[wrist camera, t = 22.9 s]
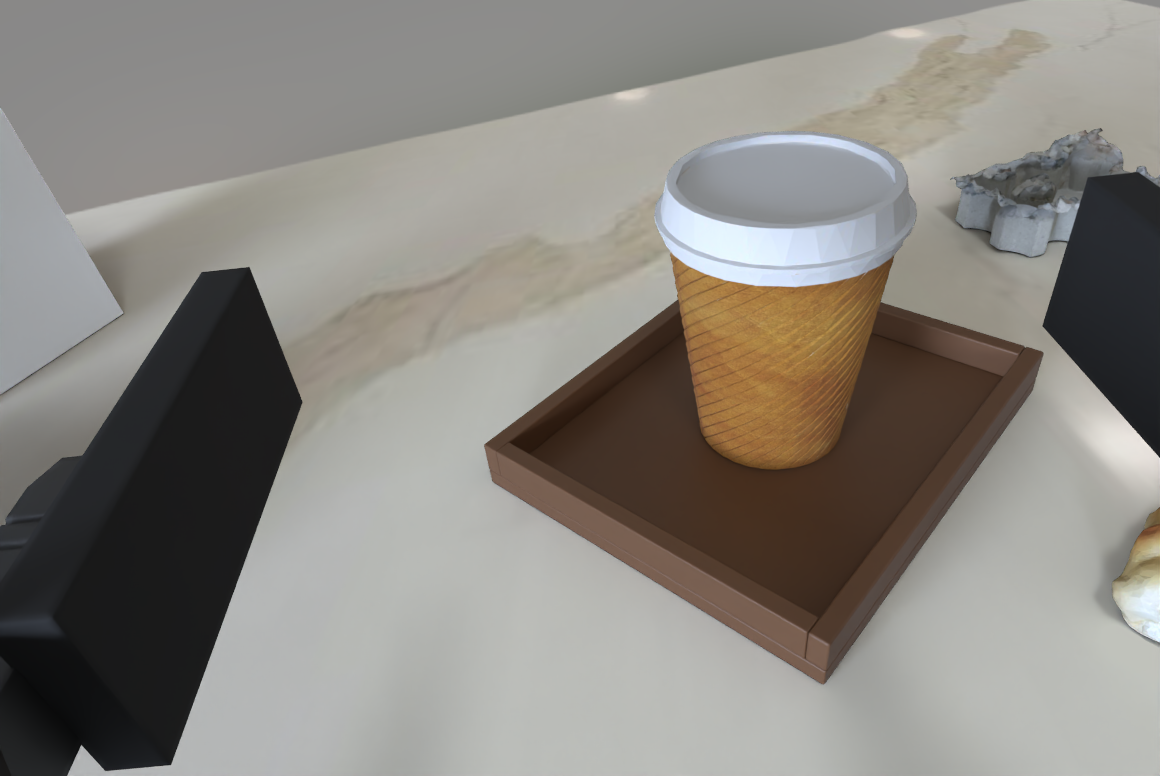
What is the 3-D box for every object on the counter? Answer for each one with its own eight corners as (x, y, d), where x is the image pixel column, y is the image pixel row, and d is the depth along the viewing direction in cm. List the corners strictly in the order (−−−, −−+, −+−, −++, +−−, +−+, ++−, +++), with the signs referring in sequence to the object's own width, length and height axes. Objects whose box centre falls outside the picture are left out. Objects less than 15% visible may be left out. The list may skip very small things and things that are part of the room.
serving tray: (491, 481, 37) (483, 444, 36) (733, 291, 48) (734, 257, 46) (823, 686, 28) (829, 645, 26) (1032, 391, 38) (1044, 351, 37)
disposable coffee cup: (876, 368, 40) (913, 125, 32) (882, 510, 32) (932, 240, 25) (681, 355, 42) (674, 127, 35) (647, 485, 35) (630, 231, 27)
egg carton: (1086, 184, 54) (1105, 123, 52) (1173, 234, 48) (1198, 168, 46) (936, 211, 53) (947, 150, 50) (1005, 265, 47) (1022, 199, 45)
